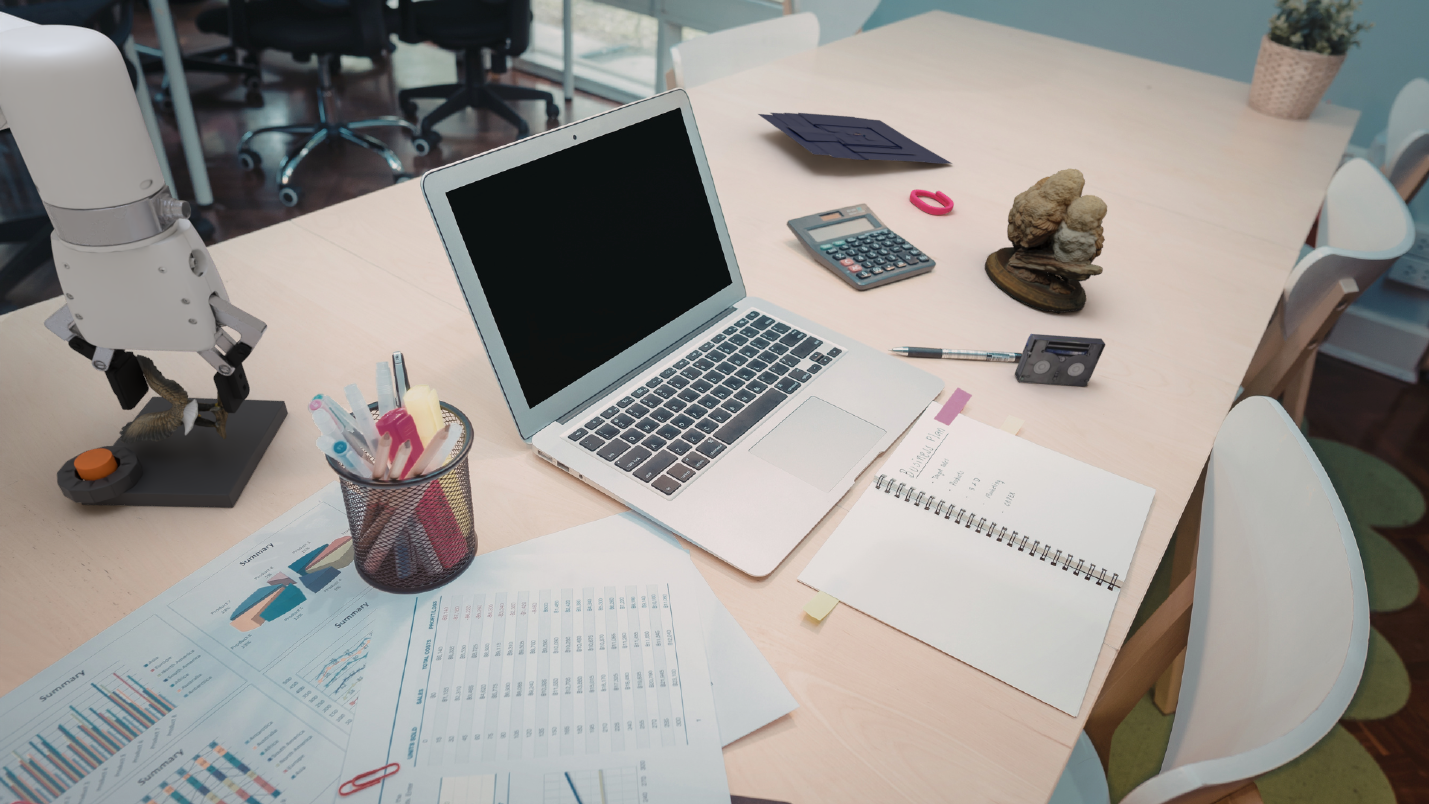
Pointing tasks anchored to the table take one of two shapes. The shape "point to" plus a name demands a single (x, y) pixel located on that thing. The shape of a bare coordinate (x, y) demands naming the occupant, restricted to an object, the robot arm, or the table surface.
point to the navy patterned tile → (850, 137)
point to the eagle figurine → (171, 410)
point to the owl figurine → (1051, 244)
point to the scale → (183, 461)
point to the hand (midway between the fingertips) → (187, 400)
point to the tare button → (95, 464)
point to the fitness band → (937, 196)
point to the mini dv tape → (1059, 360)
